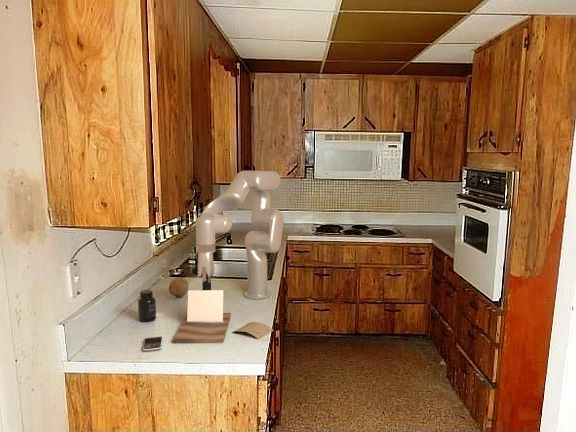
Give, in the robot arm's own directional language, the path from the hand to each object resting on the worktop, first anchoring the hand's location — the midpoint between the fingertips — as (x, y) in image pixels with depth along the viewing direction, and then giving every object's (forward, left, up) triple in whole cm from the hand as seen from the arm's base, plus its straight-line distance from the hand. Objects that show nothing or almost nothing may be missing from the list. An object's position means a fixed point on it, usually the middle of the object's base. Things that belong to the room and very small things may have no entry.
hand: (206, 291), depth 175 cm
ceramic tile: (+4, 0, -5) cm, 6 cm away
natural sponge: (-28, -18, -12) cm, 35 cm away
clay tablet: (+12, +19, -13) cm, 26 cm away
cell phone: (+22, -16, -13) cm, 30 cm away
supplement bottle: (-2, -25, -13) cm, 28 cm away
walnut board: (+8, 0, -12) cm, 15 cm away
